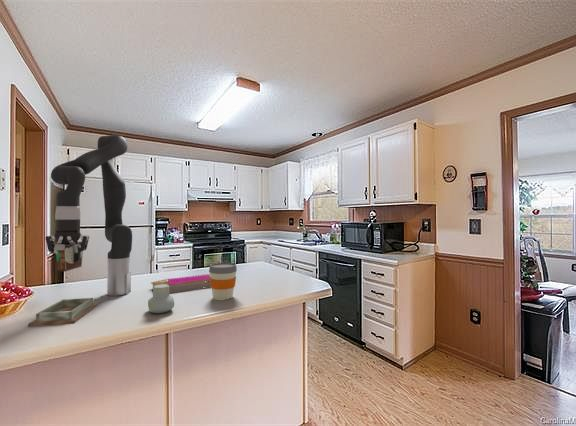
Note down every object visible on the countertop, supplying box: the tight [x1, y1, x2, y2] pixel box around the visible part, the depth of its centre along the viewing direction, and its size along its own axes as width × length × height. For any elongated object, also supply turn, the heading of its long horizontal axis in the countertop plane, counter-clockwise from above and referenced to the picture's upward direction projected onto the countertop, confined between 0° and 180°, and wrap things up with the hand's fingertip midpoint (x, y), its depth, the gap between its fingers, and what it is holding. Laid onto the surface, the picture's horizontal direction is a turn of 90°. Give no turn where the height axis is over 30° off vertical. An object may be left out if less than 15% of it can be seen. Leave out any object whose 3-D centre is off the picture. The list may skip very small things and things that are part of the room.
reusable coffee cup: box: [208, 262, 237, 301], centre depth 132 cm, size 13×13×15 cm
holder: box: [27, 297, 100, 327], centre depth 109 cm, size 14×20×4 cm
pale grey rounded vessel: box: [147, 284, 175, 314], centre depth 113 cm, size 11×8×10 cm
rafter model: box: [150, 273, 211, 294], centre depth 150 cm, size 35×14×6 cm, turn 124°
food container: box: [54, 241, 84, 272], centre depth 108 cm, size 12×6×10 cm, turn 6°
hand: (67, 262), depth 109 cm, fingers closed on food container, 5 cm apart
